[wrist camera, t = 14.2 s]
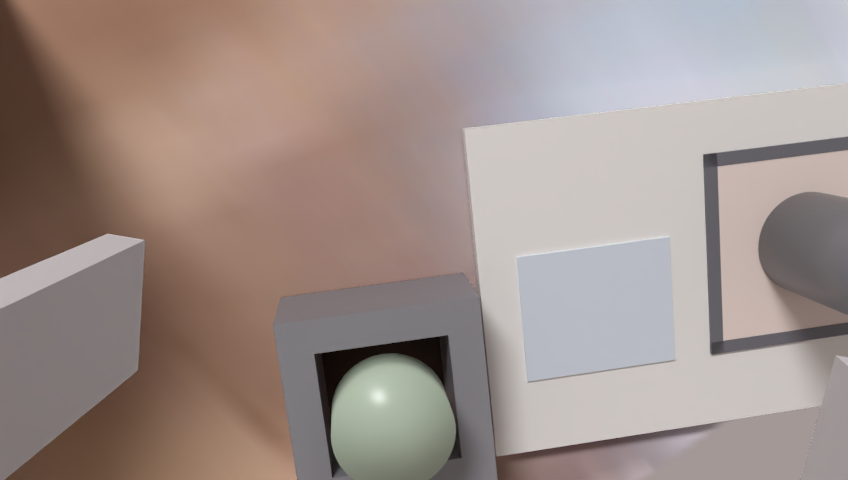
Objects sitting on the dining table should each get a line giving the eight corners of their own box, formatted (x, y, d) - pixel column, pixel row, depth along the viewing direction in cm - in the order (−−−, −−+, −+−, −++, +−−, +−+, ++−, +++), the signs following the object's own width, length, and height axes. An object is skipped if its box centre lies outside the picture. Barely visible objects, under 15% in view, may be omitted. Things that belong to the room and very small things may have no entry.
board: (914, 75, 30) (927, 74, 29) (908, 385, 32) (920, 392, 32) (461, 128, 28) (464, 129, 28) (493, 449, 31) (497, 458, 30)
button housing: (463, 272, 29) (479, 296, 26) (480, 440, 31) (497, 483, 27) (281, 297, 29) (272, 324, 25) (307, 466, 30) (302, 514, 27)
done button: (440, 345, 26) (449, 365, 24) (452, 452, 27) (461, 480, 25) (324, 362, 26) (322, 384, 24) (339, 470, 27) (339, 500, 25)
